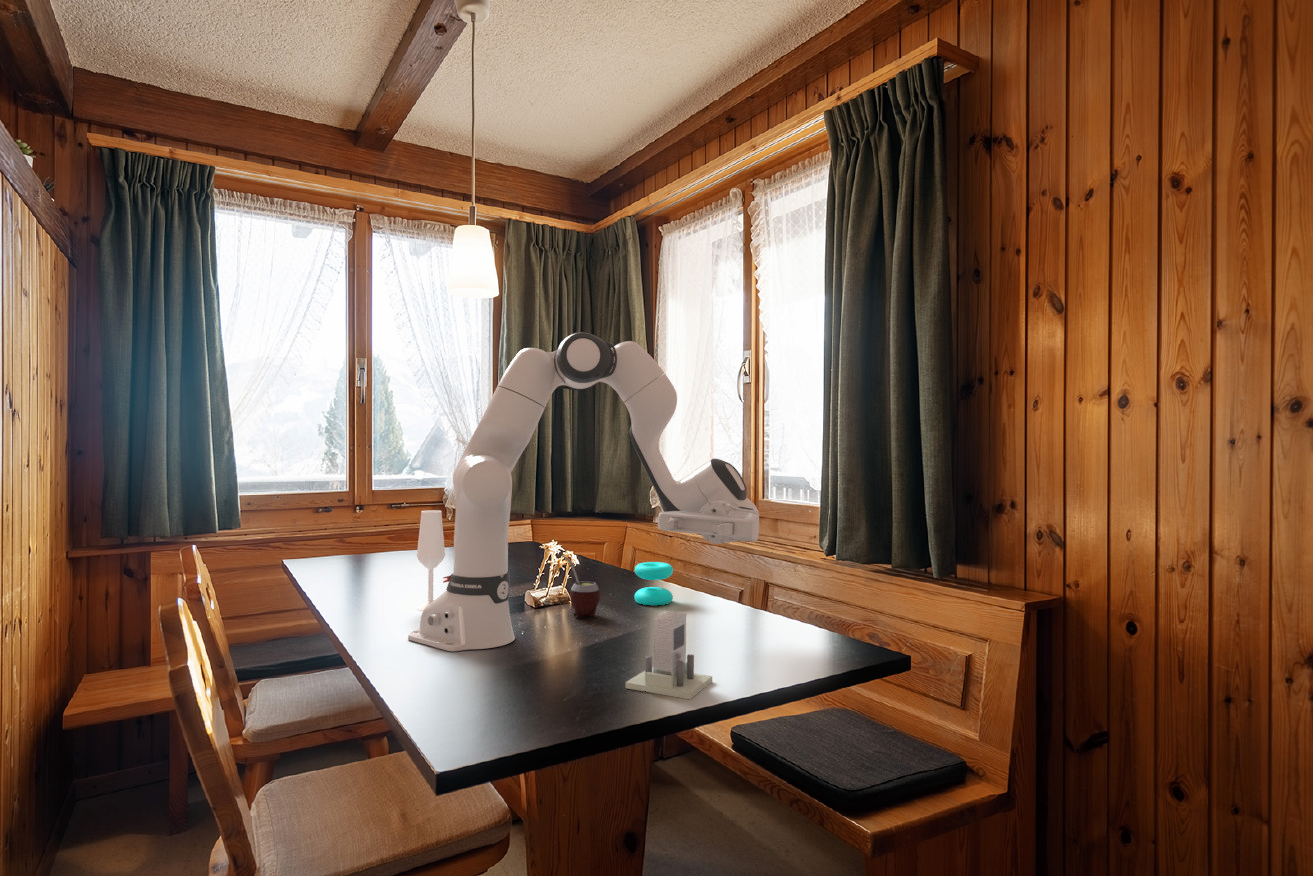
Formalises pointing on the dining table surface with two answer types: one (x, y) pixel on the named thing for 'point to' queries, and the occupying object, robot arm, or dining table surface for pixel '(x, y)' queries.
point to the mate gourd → (584, 596)
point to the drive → (669, 643)
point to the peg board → (670, 680)
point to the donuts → (653, 593)
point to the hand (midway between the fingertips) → (692, 527)
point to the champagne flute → (430, 547)
